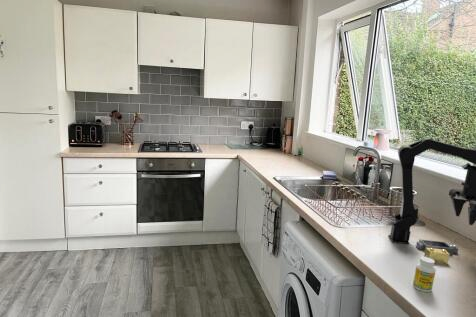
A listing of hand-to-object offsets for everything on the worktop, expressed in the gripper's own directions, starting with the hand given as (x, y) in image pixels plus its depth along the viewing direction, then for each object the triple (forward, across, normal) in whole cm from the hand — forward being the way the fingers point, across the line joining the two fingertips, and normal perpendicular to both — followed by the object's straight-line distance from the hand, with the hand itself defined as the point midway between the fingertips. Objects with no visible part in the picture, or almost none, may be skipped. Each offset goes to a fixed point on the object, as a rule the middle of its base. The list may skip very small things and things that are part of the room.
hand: (463, 220), depth 141 cm
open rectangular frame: (+13, 0, +9) cm, 16 cm away
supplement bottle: (+14, -32, +28) cm, 44 cm away
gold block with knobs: (+14, -10, +13) cm, 21 cm away
